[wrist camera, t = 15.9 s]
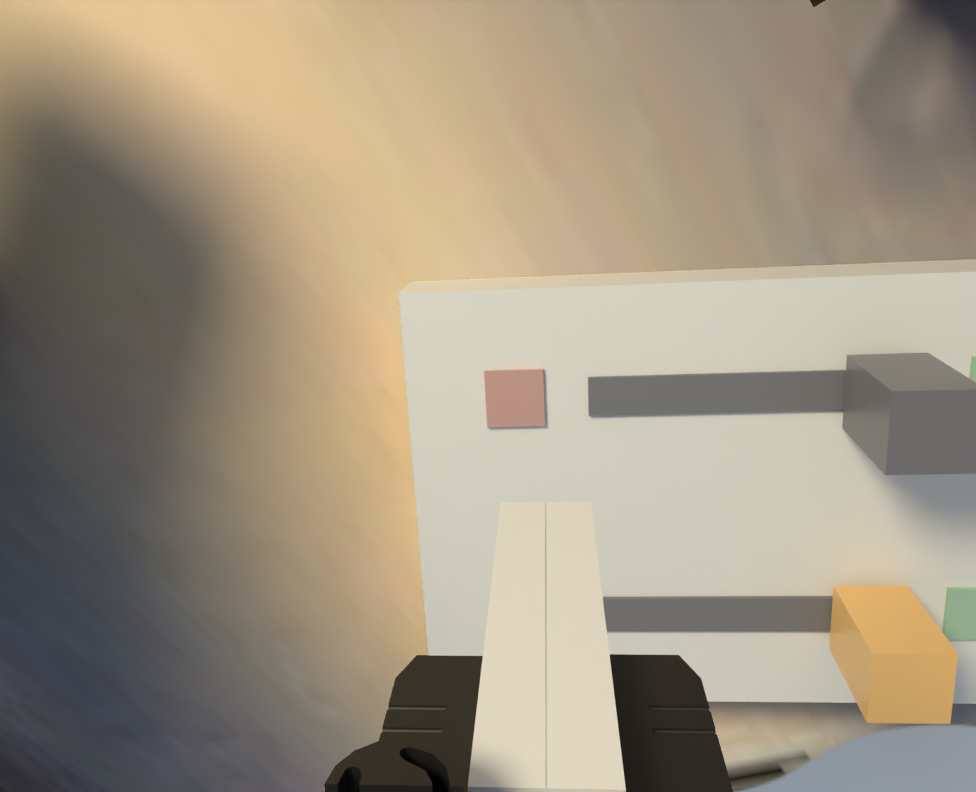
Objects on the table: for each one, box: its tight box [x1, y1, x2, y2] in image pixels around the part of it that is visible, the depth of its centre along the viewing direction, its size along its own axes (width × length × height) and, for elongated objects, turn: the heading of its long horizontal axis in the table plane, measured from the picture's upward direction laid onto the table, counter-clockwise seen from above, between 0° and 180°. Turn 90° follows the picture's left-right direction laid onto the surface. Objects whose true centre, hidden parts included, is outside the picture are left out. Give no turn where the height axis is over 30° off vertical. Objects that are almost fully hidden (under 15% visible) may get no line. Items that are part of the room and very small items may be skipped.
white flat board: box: [398, 259, 976, 704], centre depth 38 cm, size 28×19×3 cm
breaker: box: [842, 353, 976, 475], centre depth 32 cm, size 3×3×5 cm
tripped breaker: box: [829, 586, 958, 724], centre depth 35 cm, size 3×3×5 cm
